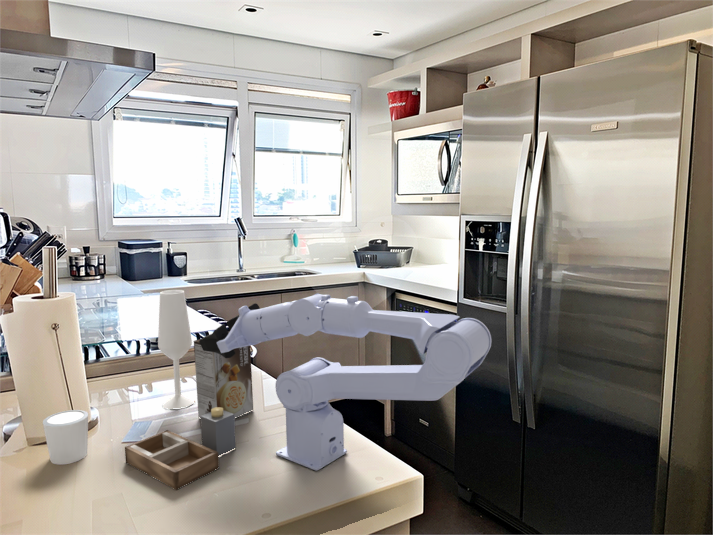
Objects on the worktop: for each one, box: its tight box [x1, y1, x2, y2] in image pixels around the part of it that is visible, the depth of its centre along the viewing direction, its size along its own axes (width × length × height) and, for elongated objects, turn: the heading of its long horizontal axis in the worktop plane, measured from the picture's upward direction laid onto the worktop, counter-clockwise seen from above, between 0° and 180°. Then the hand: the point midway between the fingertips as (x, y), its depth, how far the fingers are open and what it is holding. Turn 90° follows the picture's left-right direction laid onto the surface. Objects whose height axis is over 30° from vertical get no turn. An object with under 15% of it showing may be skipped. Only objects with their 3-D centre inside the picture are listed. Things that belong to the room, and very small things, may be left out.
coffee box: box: [193, 330, 254, 418], centre depth 109 cm, size 9×6×16 cm
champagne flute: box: [157, 289, 195, 409], centre depth 114 cm, size 7×7×24 cm
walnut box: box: [124, 429, 220, 491], centre depth 90 cm, size 14×8×3 cm, turn 52°
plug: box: [200, 407, 237, 456], centre depth 94 cm, size 4×4×8 cm
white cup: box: [42, 409, 89, 465], centre depth 93 cm, size 7×7×7 cm
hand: (216, 335), depth 101 cm, fingers open, 7 cm apart
